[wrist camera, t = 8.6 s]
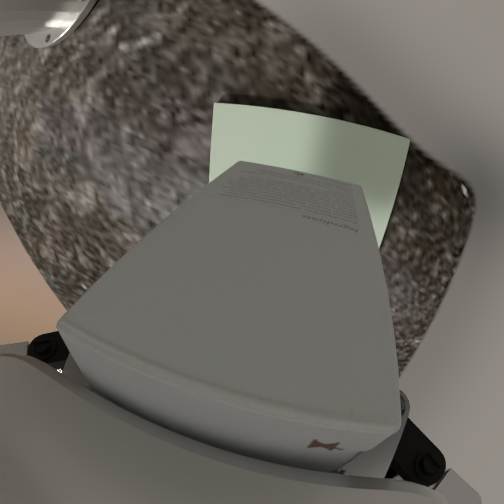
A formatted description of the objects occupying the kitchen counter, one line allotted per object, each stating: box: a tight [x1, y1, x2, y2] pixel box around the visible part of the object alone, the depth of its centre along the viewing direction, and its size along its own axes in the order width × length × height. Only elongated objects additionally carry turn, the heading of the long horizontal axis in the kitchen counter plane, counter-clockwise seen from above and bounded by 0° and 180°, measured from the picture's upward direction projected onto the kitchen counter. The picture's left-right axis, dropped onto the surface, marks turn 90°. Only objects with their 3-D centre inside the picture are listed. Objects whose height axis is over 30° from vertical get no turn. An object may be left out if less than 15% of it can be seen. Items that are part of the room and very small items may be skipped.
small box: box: [57, 161, 401, 472], centre depth 10 cm, size 8×6×10 cm
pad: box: [209, 103, 410, 247], centre depth 18 cm, size 12×12×1 cm
